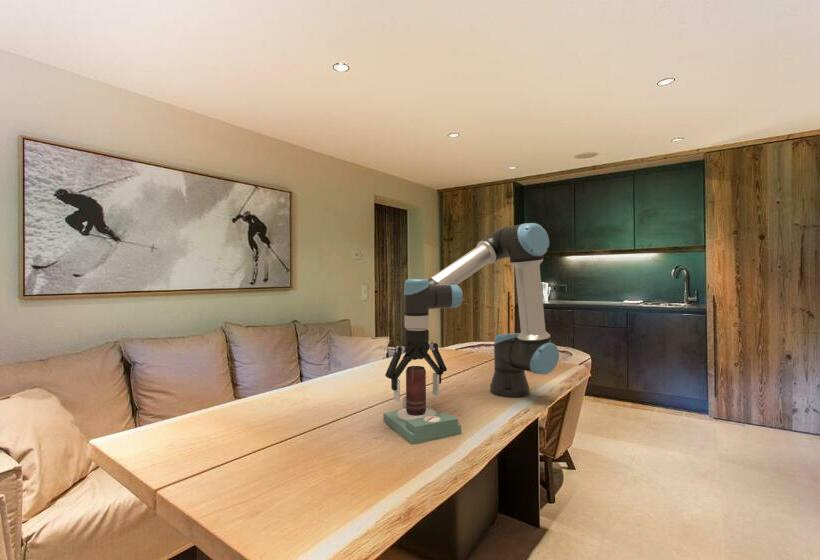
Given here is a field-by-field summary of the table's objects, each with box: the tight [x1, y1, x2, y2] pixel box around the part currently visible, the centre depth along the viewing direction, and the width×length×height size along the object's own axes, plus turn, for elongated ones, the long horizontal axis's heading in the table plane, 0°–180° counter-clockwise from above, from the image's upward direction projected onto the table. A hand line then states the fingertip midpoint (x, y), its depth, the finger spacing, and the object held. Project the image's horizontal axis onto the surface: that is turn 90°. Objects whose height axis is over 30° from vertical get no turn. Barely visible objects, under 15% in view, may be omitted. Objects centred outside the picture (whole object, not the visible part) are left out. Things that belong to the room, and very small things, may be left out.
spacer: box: [402, 396, 406, 409], centre depth 139 cm, size 4×4×4 cm
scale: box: [383, 405, 462, 445], centre depth 123 cm, size 16×20×5 cm
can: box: [405, 365, 427, 416], centre depth 125 cm, size 6×6×14 cm
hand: (417, 397), depth 125 cm, fingers open, 13 cm apart
